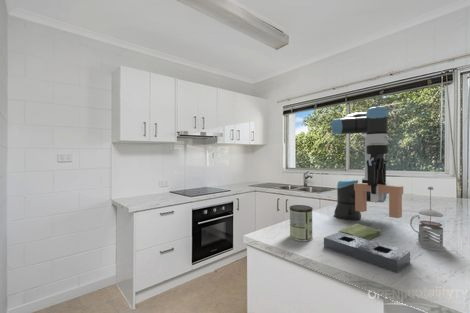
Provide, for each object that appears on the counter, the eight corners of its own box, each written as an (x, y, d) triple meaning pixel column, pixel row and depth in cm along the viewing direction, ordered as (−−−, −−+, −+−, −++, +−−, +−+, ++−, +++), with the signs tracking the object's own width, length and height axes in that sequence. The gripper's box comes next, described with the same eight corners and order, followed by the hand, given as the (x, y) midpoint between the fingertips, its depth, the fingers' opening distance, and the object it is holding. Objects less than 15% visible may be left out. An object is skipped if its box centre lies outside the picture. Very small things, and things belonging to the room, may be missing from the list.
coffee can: (290, 232, 112) (290, 204, 112) (312, 235, 109) (312, 205, 109) (288, 239, 102) (288, 208, 102) (312, 242, 99) (312, 210, 99)
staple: (354, 210, 100) (353, 183, 100) (358, 209, 102) (358, 182, 102) (399, 218, 86) (399, 186, 86) (403, 217, 89) (403, 186, 89)
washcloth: (336, 234, 111) (336, 228, 111) (356, 228, 120) (356, 222, 120) (363, 243, 100) (363, 235, 100) (383, 235, 109) (383, 229, 109)
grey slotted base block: (323, 247, 94) (323, 237, 94) (339, 240, 101) (339, 231, 101) (397, 273, 73) (397, 260, 73) (410, 262, 80) (410, 251, 80)
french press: (449, 252, 89) (449, 188, 89) (412, 246, 95) (411, 186, 95) (443, 244, 97) (443, 186, 97) (409, 239, 103) (409, 184, 103)
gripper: (377, 143, 86) (378, 205, 86) (395, 144, 96) (395, 199, 97) (357, 144, 92) (357, 202, 92) (376, 145, 102) (376, 197, 103)
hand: (377, 200), depth 94 cm, fingers closed on staple, 4 cm apart
